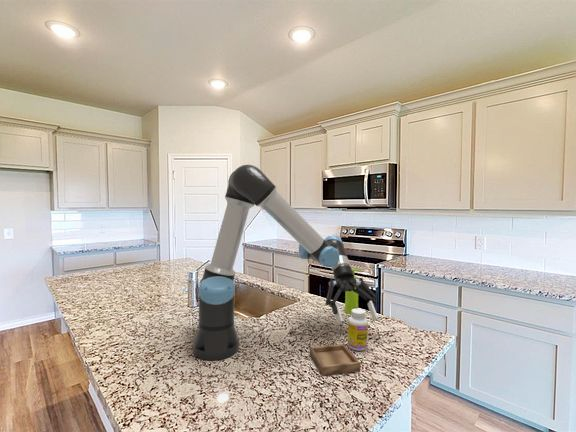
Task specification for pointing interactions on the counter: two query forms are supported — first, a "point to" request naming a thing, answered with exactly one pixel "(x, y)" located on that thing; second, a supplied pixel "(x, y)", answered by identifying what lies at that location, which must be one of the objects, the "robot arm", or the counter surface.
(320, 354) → the walnut tray
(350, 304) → the soap dispenser
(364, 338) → the supplement bottle
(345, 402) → the counter surface
